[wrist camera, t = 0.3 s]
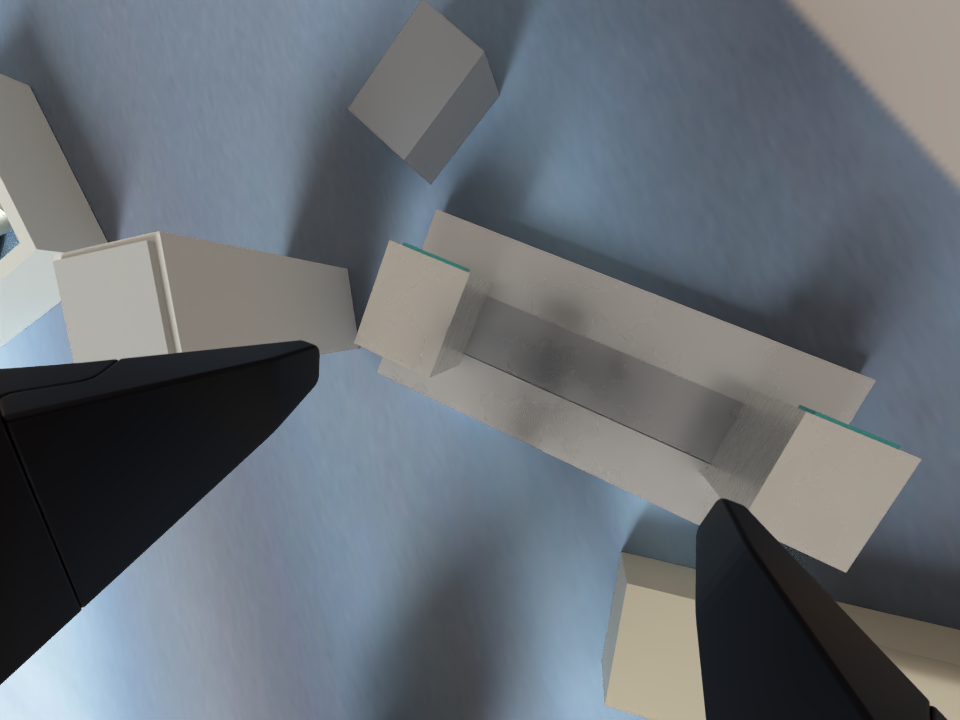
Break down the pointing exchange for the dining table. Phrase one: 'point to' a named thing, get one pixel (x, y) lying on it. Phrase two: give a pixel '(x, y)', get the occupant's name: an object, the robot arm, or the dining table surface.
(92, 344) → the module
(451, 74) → the grey rectangular block
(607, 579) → the dining table surface
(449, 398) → the rail plate
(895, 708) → the robot arm
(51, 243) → the parts tray
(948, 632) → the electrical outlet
